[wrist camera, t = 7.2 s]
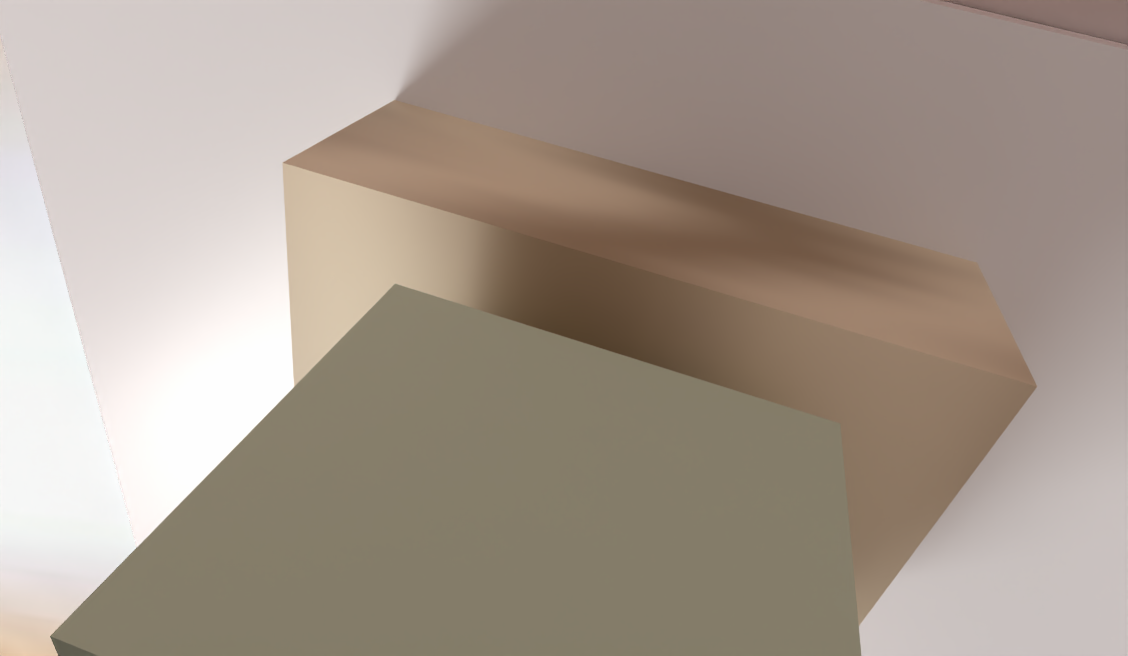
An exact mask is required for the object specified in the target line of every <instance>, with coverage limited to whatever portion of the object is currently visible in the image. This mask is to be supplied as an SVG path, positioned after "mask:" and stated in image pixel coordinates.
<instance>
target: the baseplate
mask: <svg viewBox="0 0 1128 656" xmlns="http://www.w3.org/2000/svg"><path fill="white" fill-rule="evenodd" d="M0 37H1V41H2V44H3V48H4V52H5V56H6V59H7V63H8V67H9V71H10V74H11V78H12V82H13V86H14V89H15V93H16V97H17V101H18V104H19V108H20V112H21V116H22V119H23V123H24V127H25V131H26V134H27V138H28V142H29V146H30V149H31V153H32V157H33V161H34V165H35V168H36V172H37V176H38V180H39V183H40V187H41V191H42V195H43V198H44V202H45V206H46V210H47V213H48V217H49V221H50V225H51V228H52V232H53V236H54V240H55V243H56V247H57V251H58V255H59V258H60V262H61V266H62V270H63V273H64V277H65V281H66V285H67V288H68V292H69V296H70V300H71V303H72V307H73V311H74V315H75V318H76V322H77V326H78V330H79V333H80V337H81V341H82V345H83V348H84V352H85V356H86V360H87V363H88V367H89V371H90V375H91V379H92V382H93V386H94V390H95V394H96V397H97V401H98V405H99V409H100V412H101V416H102V420H103V424H104V427H105V431H106V435H107V439H108V442H109V446H110V450H111V454H112V457H113V461H114V465H115V469H116V472H117V476H118V480H119V484H120V487H121V491H122V495H123V499H124V502H125V506H126V510H127V514H128V517H129V521H130V525H131V529H132V532H133V536H134V540H135V544H136V547H138V546H139V545H140V544H141V543H142V542H143V541H144V540H145V539H146V538H147V537H148V536H149V535H150V534H151V533H152V532H153V531H154V530H155V529H156V528H157V527H158V526H159V524H160V523H161V522H162V521H163V520H164V519H165V518H166V517H167V516H168V515H169V514H170V513H171V512H172V511H173V510H174V509H175V508H176V507H177V506H178V505H179V504H180V503H181V502H182V501H183V500H184V499H185V498H186V497H187V496H188V495H189V494H190V493H191V492H192V491H193V490H194V489H195V488H196V487H197V486H198V485H199V484H200V483H201V482H202V481H203V480H204V479H205V477H206V476H207V475H208V474H209V473H210V472H211V471H212V470H213V469H214V468H215V467H216V466H217V465H218V464H219V463H220V462H221V461H222V460H223V459H224V458H225V457H226V456H227V455H228V454H229V453H230V452H231V451H232V450H233V449H234V448H235V447H236V446H237V445H238V444H239V443H240V442H241V441H242V440H243V439H244V438H245V437H246V436H247V435H248V434H249V433H250V431H251V430H252V429H253V428H254V427H255V426H256V425H257V424H258V423H259V422H260V421H261V420H262V419H263V418H264V417H265V416H266V415H267V414H268V413H269V412H270V411H271V410H272V409H273V408H274V407H275V406H276V405H277V404H278V403H279V402H280V401H281V400H282V399H283V398H284V397H285V396H286V395H287V394H288V393H289V392H290V391H291V390H292V389H293V388H294V378H293V359H292V339H291V320H290V301H289V281H288V262H287V243H286V223H285V204H284V185H283V165H282V163H283V162H285V161H286V160H288V159H290V158H292V157H293V156H295V155H297V154H299V153H301V152H302V151H304V150H306V149H308V148H310V147H311V146H313V145H315V144H317V143H318V142H320V141H322V140H324V139H326V138H327V137H329V136H331V135H333V134H335V133H336V132H338V131H340V130H342V129H343V128H345V127H347V126H349V125H351V124H352V123H354V122H356V121H358V120H360V119H361V118H363V117H365V116H367V115H368V114H370V113H372V112H374V111H376V110H377V109H379V108H381V107H383V106H385V105H386V104H388V103H390V102H392V101H393V100H396V101H400V102H403V103H407V104H411V105H414V106H418V107H421V108H425V109H428V110H432V111H436V112H439V113H443V114H446V115H450V116H454V117H457V118H461V119H464V120H468V121H471V122H475V123H479V124H482V125H486V126H489V127H493V128H497V129H500V130H504V131H507V132H511V133H514V134H518V135H522V136H525V137H529V138H532V139H536V140H540V141H543V142H547V143H550V144H554V145H557V146H561V147H565V148H568V149H572V150H575V151H579V152H582V153H586V154H590V155H593V156H597V157H600V158H604V159H608V160H611V161H615V162H618V163H622V164H625V165H629V166H633V167H636V168H640V169H643V170H647V171H651V172H654V173H658V174H661V175H665V176H668V177H672V178H676V179H679V180H683V181H686V182H690V183H694V184H697V185H701V186H704V187H708V188H711V189H715V190H719V191H722V192H726V193H729V194H733V195H736V196H740V197H744V198H747V199H751V200H754V201H758V202H762V203H765V204H769V205H772V206H776V207H779V208H783V209H787V210H790V211H794V212H797V213H801V214H805V215H808V216H812V217H815V218H819V219H822V220H826V221H830V222H833V223H837V224H840V225H844V226H848V227H851V228H855V229H858V230H862V231H865V232H869V233H873V234H876V235H880V236H883V237H887V238H890V239H894V240H898V241H901V242H905V243H908V244H912V245H916V246H919V247H923V248H926V249H930V250H933V251H937V252H941V253H944V254H948V255H951V256H955V257H959V258H962V259H966V260H969V261H973V262H976V263H978V266H979V268H980V270H981V272H982V274H983V276H984V278H985V280H986V282H987V284H988V286H989V288H990V290H991V292H992V294H993V296H994V298H995V301H996V303H997V305H998V307H999V309H1000V311H1001V313H1002V315H1003V317H1004V319H1005V321H1006V323H1007V325H1008V327H1009V329H1010V331H1011V333H1012V335H1013V338H1014V340H1015V342H1016V344H1017V346H1018V348H1019V350H1020V352H1021V354H1022V356H1023V358H1024V360H1025V362H1026V364H1027V366H1028V368H1029V370H1030V373H1031V375H1032V377H1033V379H1034V381H1035V383H1036V385H1037V388H1036V389H1035V390H1034V392H1033V393H1032V394H1031V396H1030V397H1029V398H1028V400H1027V401H1026V402H1025V404H1024V405H1023V406H1022V408H1021V409H1020V410H1019V412H1018V413H1017V415H1016V416H1015V417H1014V419H1013V420H1012V421H1011V423H1010V424H1009V425H1008V427H1007V428H1006V429H1005V431H1004V432H1003V433H1002V435H1001V436H1000V437H999V439H998V440H997V441H996V443H995V444H994V445H993V447H992V448H991V449H990V451H989V452H988V453H987V455H986V456H985V457H984V459H983V460H982V462H981V463H980V464H979V466H978V467H977V468H976V470H975V471H974V472H973V474H972V475H971V476H970V478H969V479H968V480H967V482H966V483H965V484H964V486H963V487H962V488H961V490H960V491H959V492H958V494H957V495H956V496H955V498H954V499H953V500H952V502H951V503H950V504H949V506H948V507H947V509H946V510H945V511H944V513H943V514H942V515H941V517H940V518H939V519H938V521H937V522H936V523H935V525H934V526H933V527H932V529H931V530H930V531H929V533H928V534H927V535H926V537H925V538H924V539H923V541H922V542H921V543H920V545H919V546H918V547H917V549H916V550H915V552H914V553H913V554H912V556H911V557H910V558H909V560H908V561H907V562H906V564H905V565H904V566H903V568H902V569H901V570H900V572H899V573H898V574H897V576H896V577H895V578H894V580H893V581H892V582H891V584H890V585H889V586H888V588H887V589H886V590H885V592H884V593H883V594H882V596H881V597H880V599H879V600H878V601H877V603H876V604H875V605H874V607H873V608H872V609H871V611H870V612H869V613H868V615H867V616H866V617H865V619H864V620H863V621H862V623H861V624H860V625H859V634H860V645H861V656H1128V45H1126V44H1122V43H1118V42H1114V41H1109V40H1105V39H1101V38H1097V37H1093V36H1088V35H1084V34H1080V33H1076V32H1072V31H1067V30H1063V29H1059V28H1055V27H1051V26H1046V25H1042V24H1038V23H1034V22H1030V21H1025V20H1021V19H1017V18H1013V17H1009V16H1004V15H1000V14H996V13H992V12H988V11H983V10H979V9H975V8H971V7H967V6H962V5H958V4H954V3H950V2H946V1H941V0H0Z"/></svg>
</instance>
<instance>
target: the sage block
mask: <svg viewBox="0 0 1128 656" xmlns="http://www.w3.org/2000/svg"><path fill="white" fill-rule="evenodd" d="M50 637H51V639H52V642H53V644H54V646H55V649H56V651H57V653H58V656H861V645H860V634H859V623H858V612H857V601H856V590H855V579H854V568H853V557H852V546H851V536H850V525H849V514H848V503H847V492H846V481H845V470H844V459H843V448H842V437H841V426H840V423H837V422H834V421H831V420H828V419H825V418H821V417H818V416H815V415H812V414H809V413H805V412H802V411H799V410H796V409H793V408H789V407H786V406H783V405H780V404H777V403H774V402H770V401H767V400H764V399H761V398H758V397H754V396H751V395H748V394H745V393H742V392H739V391H735V390H732V389H729V388H726V387H723V386H719V385H716V384H713V383H710V382H707V381H704V380H700V379H697V378H694V377H691V376H688V375H684V374H681V373H678V372H675V371H672V370H669V369H665V368H662V367H659V366H656V365H653V364H649V363H646V362H643V361H640V360H637V359H634V358H630V357H627V356H624V355H621V354H618V353H614V352H611V351H608V350H605V349H602V348H599V347H595V346H592V345H589V344H586V343H583V342H579V341H576V340H573V339H570V338H567V337H564V336H560V335H557V334H554V333H551V332H548V331H544V330H541V329H538V328H535V327H532V326H529V325H525V324H522V323H519V322H516V321H513V320H509V319H506V318H503V317H500V316H497V315H494V314H490V313H487V312H484V311H481V310H478V309H474V308H471V307H468V306H465V305H462V304H459V303H455V302H452V301H449V300H446V299H443V298H439V297H436V296H433V295H430V294H427V293H423V292H420V291H417V290H414V289H411V288H408V287H404V286H401V285H398V284H394V285H393V286H392V287H391V288H390V289H389V290H388V291H387V292H386V293H385V295H384V296H383V297H382V298H381V299H380V300H379V301H378V302H377V303H376V304H375V305H374V306H373V307H372V308H371V309H370V310H369V311H368V312H367V313H366V314H365V315H364V316H363V317H362V318H361V319H360V320H359V321H358V322H357V323H356V324H355V325H354V326H353V327H352V328H351V329H350V330H349V331H348V332H347V333H346V334H345V335H344V336H343V337H342V338H341V339H340V341H339V342H338V343H337V344H336V345H335V346H334V347H333V348H332V349H331V350H330V351H329V352H328V353H327V354H326V355H325V356H324V357H323V358H322V359H321V360H320V361H319V362H318V363H317V364H316V365H315V366H314V367H313V368H312V369H311V370H310V371H309V372H308V373H307V374H306V375H305V376H304V377H303V378H302V379H301V380H300V381H299V382H298V383H297V384H296V385H295V387H294V388H293V389H292V390H291V391H290V392H289V393H288V394H287V395H286V396H285V397H284V398H283V399H282V400H281V401H280V402H279V403H278V404H277V405H276V406H275V407H274V408H273V409H272V410H271V411H270V412H269V413H268V414H267V415H266V416H265V417H264V418H263V419H262V420H261V421H260V422H259V423H258V424H257V425H256V426H255V427H254V428H253V429H252V430H251V431H250V433H249V434H248V435H247V436H246V437H245V438H244V439H243V440H242V441H241V442H240V443H239V444H238V445H237V446H236V447H235V448H234V449H233V450H232V451H231V452H230V453H229V454H228V455H227V456H226V457H225V458H224V459H223V460H222V461H221V462H220V463H219V464H218V465H217V466H216V467H215V468H214V469H213V470H212V471H211V472H210V473H209V474H208V475H207V476H206V477H205V479H204V480H203V481H202V482H201V483H200V484H199V485H198V486H197V487H196V488H195V489H194V490H193V491H192V492H191V493H190V494H189V495H188V496H187V497H186V498H185V499H184V500H183V501H182V502H181V503H180V504H179V505H178V506H177V507H176V508H175V509H174V510H173V511H172V512H171V513H170V514H169V515H168V516H167V517H166V518H165V519H164V520H163V521H162V522H161V523H160V524H159V526H158V527H157V528H156V529H155V530H154V531H153V532H152V533H151V534H150V535H149V536H148V537H147V538H146V539H145V540H144V541H143V542H142V543H141V544H140V545H139V546H138V547H137V548H136V549H135V550H134V551H133V552H132V553H131V554H130V555H129V556H128V557H127V558H126V559H125V560H124V561H123V562H122V563H121V564H120V565H119V566H118V567H117V568H116V569H115V570H114V572H113V573H112V574H111V575H110V576H109V577H108V578H107V579H106V580H105V581H104V582H103V583H102V584H101V585H100V586H99V587H98V588H97V589H96V590H95V591H94V592H93V593H92V594H91V595H90V596H89V597H88V598H87V599H86V600H85V601H84V602H83V603H82V604H81V605H80V606H79V607H78V608H77V609H76V610H75V611H74V612H73V613H72V614H71V615H70V616H69V618H68V619H67V620H66V621H65V622H64V623H63V624H62V625H61V626H60V627H59V628H58V629H57V630H56V631H55V632H54V633H53V634H52V635H51V636H50Z"/></svg>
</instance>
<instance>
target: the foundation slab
mask: <svg viewBox="0 0 1128 656" xmlns="http://www.w3.org/2000/svg"><path fill="white" fill-rule="evenodd" d="M282 165H283V185H284V204H285V223H286V243H287V262H288V281H289V301H290V320H291V339H292V359H293V378H294V387H295V385H296V384H297V383H298V382H299V381H300V380H301V379H302V378H303V377H304V376H305V375H306V374H307V373H308V372H309V371H310V370H311V369H312V368H313V367H314V366H315V365H316V364H317V363H318V362H319V361H320V360H321V359H322V358H323V357H324V356H325V355H326V354H327V353H328V352H329V351H330V350H331V349H332V348H333V347H334V346H335V345H336V344H337V343H338V342H339V341H340V339H341V338H342V337H343V336H344V335H345V334H346V333H347V332H348V331H349V330H350V329H351V328H352V327H353V326H354V325H355V324H356V323H357V322H358V321H359V320H360V319H361V318H362V317H363V316H364V315H365V314H366V313H367V312H368V311H369V310H370V309H371V308H372V307H373V306H374V305H375V304H376V303H377V302H378V301H379V300H380V299H381V298H382V297H383V296H384V295H385V293H386V292H387V291H388V290H389V289H390V288H391V287H392V286H393V285H394V284H398V285H401V286H404V287H408V288H411V289H414V290H417V291H420V292H423V293H427V294H430V295H433V296H436V297H439V298H443V299H446V300H449V301H452V302H455V303H459V304H462V305H465V306H468V307H471V308H474V309H478V310H481V311H484V312H487V313H490V314H494V315H497V316H500V317H503V318H506V319H509V320H513V321H516V322H519V323H522V324H525V325H529V326H532V327H535V328H538V329H541V330H544V331H548V332H551V333H554V334H557V335H560V336H564V337H567V338H570V339H573V340H576V341H579V342H583V343H586V344H589V345H592V346H595V347H599V348H602V349H605V350H608V351H611V352H614V353H618V354H621V355H624V356H627V357H630V358H634V359H637V360H640V361H643V362H646V363H649V364H653V365H656V366H659V367H662V368H665V369H669V370H672V371H675V372H678V373H681V374H684V375H688V376H691V377H694V378H697V379H700V380H704V381H707V382H710V383H713V384H716V385H719V386H723V387H726V388H729V389H732V390H735V391H739V392H742V393H745V394H748V395H751V396H754V397H758V398H761V399H764V400H767V401H770V402H774V403H777V404H780V405H783V406H786V407H789V408H793V409H796V410H799V411H802V412H805V413H809V414H812V415H815V416H818V417H821V418H825V419H828V420H831V421H834V422H837V423H840V426H841V437H842V448H843V459H844V470H845V481H846V492H847V503H848V514H849V525H850V536H851V546H852V557H853V568H854V579H855V590H856V601H857V612H858V623H859V625H860V624H861V623H862V621H863V620H864V619H865V617H866V616H867V615H868V613H869V612H870V611H871V609H872V608H873V607H874V605H875V604H876V603H877V601H878V600H879V599H880V597H881V596H882V594H883V593H884V592H885V590H886V589H887V588H888V586H889V585H890V584H891V582H892V581H893V580H894V578H895V577H896V576H897V574H898V573H899V572H900V570H901V569H902V568H903V566H904V565H905V564H906V562H907V561H908V560H909V558H910V557H911V556H912V554H913V553H914V552H915V550H916V549H917V547H918V546H919V545H920V543H921V542H922V541H923V539H924V538H925V537H926V535H927V534H928V533H929V531H930V530H931V529H932V527H933V526H934V525H935V523H936V522H937V521H938V519H939V518H940V517H941V515H942V514H943V513H944V511H945V510H946V509H947V507H948V506H949V504H950V503H951V502H952V500H953V499H954V498H955V496H956V495H957V494H958V492H959V491H960V490H961V488H962V487H963V486H964V484H965V483H966V482H967V480H968V479H969V478H970V476H971V475H972V474H973V472H974V471H975V470H976V468H977V467H978V466H979V464H980V463H981V462H982V460H983V459H984V457H985V456H986V455H987V453H988V452H989V451H990V449H991V448H992V447H993V445H994V444H995V443H996V441H997V440H998V439H999V437H1000V436H1001V435H1002V433H1003V432H1004V431H1005V429H1006V428H1007V427H1008V425H1009V424H1010V423H1011V421H1012V420H1013V419H1014V417H1015V416H1016V415H1017V413H1018V412H1019V410H1020V409H1021V408H1022V406H1023V405H1024V404H1025V402H1026V401H1027V400H1028V398H1029V397H1030V396H1031V394H1032V393H1033V392H1034V390H1035V389H1036V388H1037V385H1036V383H1035V381H1034V379H1033V377H1032V375H1031V373H1030V370H1029V368H1028V366H1027V364H1026V362H1025V360H1024V358H1023V356H1022V354H1021V352H1020V350H1019V348H1018V346H1017V344H1016V342H1015V340H1014V338H1013V335H1012V333H1011V331H1010V329H1009V327H1008V325H1007V323H1006V321H1005V319H1004V317H1003V315H1002V313H1001V311H1000V309H999V307H998V305H997V303H996V301H995V298H994V296H993V294H992V292H991V290H990V288H989V286H988V284H987V282H986V280H985V278H984V276H983V274H982V272H981V270H980V268H979V266H978V263H976V262H973V261H969V260H966V259H962V258H959V257H955V256H951V255H948V254H944V253H941V252H937V251H933V250H930V249H926V248H923V247H919V246H916V245H912V244H908V243H905V242H901V241H898V240H894V239H890V238H887V237H883V236H880V235H876V234H873V233H869V232H865V231H862V230H858V229H855V228H851V227H848V226H844V225H840V224H837V223H833V222H830V221H826V220H822V219H819V218H815V217H812V216H808V215H805V214H801V213H797V212H794V211H790V210H787V209H783V208H779V207H776V206H772V205H769V204H765V203H762V202H758V201H754V200H751V199H747V198H744V197H740V196H736V195H733V194H729V193H726V192H722V191H719V190H715V189H711V188H708V187H704V186H701V185H697V184H694V183H690V182H686V181H683V180H679V179H676V178H672V177H668V176H665V175H661V174H658V173H654V172H651V171H647V170H643V169H640V168H636V167H633V166H629V165H625V164H622V163H618V162H615V161H611V160H608V159H604V158H600V157H597V156H593V155H590V154H586V153H582V152H579V151H575V150H572V149H568V148H565V147H561V146H557V145H554V144H550V143H547V142H543V141H540V140H536V139H532V138H529V137H525V136H522V135H518V134H514V133H511V132H507V131H504V130H500V129H497V128H493V127H489V126H486V125H482V124H479V123H475V122H471V121H468V120H464V119H461V118H457V117H454V116H450V115H446V114H443V113H439V112H436V111H432V110H428V109H425V108H421V107H418V106H414V105H411V104H407V103H403V102H400V101H396V100H393V101H392V102H390V103H388V104H386V105H385V106H383V107H381V108H379V109H377V110H376V111H374V112H372V113H370V114H368V115H367V116H365V117H363V118H361V119H360V120H358V121H356V122H354V123H352V124H351V125H349V126H347V127H345V128H343V129H342V130H340V131H338V132H336V133H335V134H333V135H331V136H329V137H327V138H326V139H324V140H322V141H320V142H318V143H317V144H315V145H313V146H311V147H310V148H308V149H306V150H304V151H302V152H301V153H299V154H297V155H295V156H293V157H292V158H290V159H288V160H286V161H285V162H283V163H282Z"/></svg>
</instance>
